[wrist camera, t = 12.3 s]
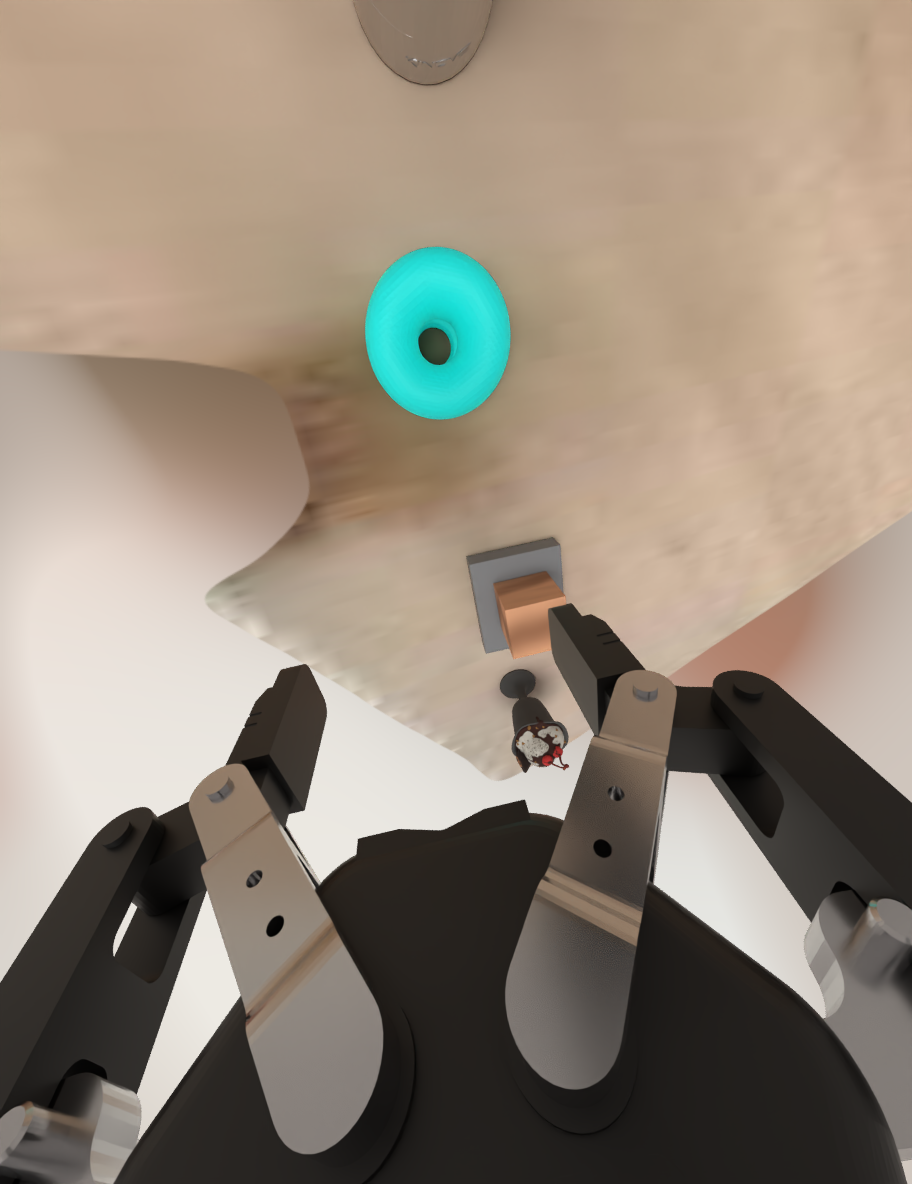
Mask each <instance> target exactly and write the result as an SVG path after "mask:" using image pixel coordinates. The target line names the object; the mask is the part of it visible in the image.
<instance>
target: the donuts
mask: <svg viewBox="0 0 912 1184" xmlns="http://www.w3.org/2000/svg"><path fill="white" fill-rule="evenodd" d="M428 328H438V329H441V330H442V331H443V332H445V334H446V335H447V336H448V338H449V340H450V344H451V353H450V356H449V358H448V360H447V362H446V363H445V364H442V365H434V364H432V363H429V362H428V361H427V360H426V359H425V358H424V357H423V356H422V354H421V352H420V349H419V344H418V338H419V336H420V334H421V333H422V332H423V331H424V330H426V329H428ZM365 338H366V346H367V352H368V356H369V360H370V363H371V366H372V368H373V371H374V373H375V375H376V377H377V379H378V381H379V382H380V384H381V385H382V387H383V388H384V390H385V391H386V392H387V393H388V395H389V396H390V397H391V398H392V399H393V400H394V401H395V402H396V403H398V404H399V405H400V406H401V407H403V408H404V409H406V410H408V411H409V412H411V413H413V414H416V415H418V416H421V417H425V418H429V419H439V420H441V419H451V418H456V417H459V416H462V415H464V414H467V413H469V412H470V411H472V410H474V409H475V408H477V407H478V406H479V405H481V404H482V403H483V402H484V401H485V400H486V399H487V398H488V397H489V396H490V395H491V393H492V392H493V391H494V389H495V388H496V386H497V385H498V383H499V381H500V379H501V377H502V375H503V373H504V370H505V367H506V364H507V361H508V356H509V351H510V340H511V331H510V321H509V315H508V311H507V307H506V304H505V301H504V298H503V296H502V293H501V291H500V289H499V288H498V286H497V284H496V282H495V281H494V279H493V278H492V277H491V275H490V274H489V273H488V272H487V271H486V269H485V268H484V267H482V266H481V265H480V264H479V263H478V262H477V261H475V260H474V259H473V258H471V257H469V256H468V255H466V254H464V253H462V252H460V251H457V250H454V249H450V248H445V247H427V248H421V249H418V250H415V251H412V252H410V253H408V254H406V255H404V256H403V257H401V258H400V259H398V260H397V261H396V262H394V263H393V264H392V265H391V266H390V267H389V268H388V269H387V270H386V272H385V273H384V274H383V275H382V277H381V278H380V280H379V281H378V283H377V285H376V287H375V289H374V291H373V293H372V296H371V299H370V302H369V305H368V309H367V315H366V324H365Z"/></svg>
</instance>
